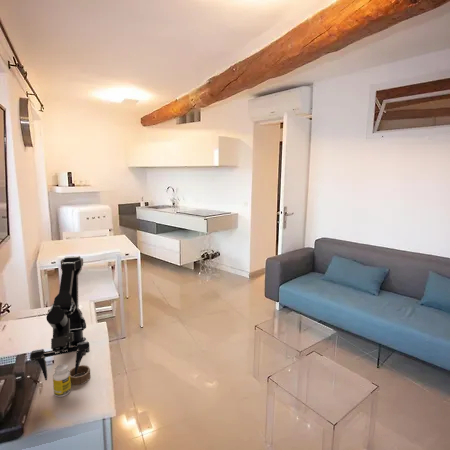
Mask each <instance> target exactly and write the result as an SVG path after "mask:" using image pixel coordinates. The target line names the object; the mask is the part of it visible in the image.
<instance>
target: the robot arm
mask: <svg viewBox="0 0 450 450" xmlns="http://www.w3.org/2000/svg"><path fill="white" fill-rule="evenodd" d="M59 262H60V270H61V276H60V277H61V278H60V282H59V283H60V284H59V290H58V294H57V295H56V296H55V297H54V300H53V303H52V304H51V307H50V309H49V310H48V313H47V315H46V321H47V323H48V324H49V325H50V326H51V328H52V338H51V339H50V344H51V345H50V349H51V350H47V351H45V349H44V348H41V349H36V350H32V351H31V352H30V354H29V360H30V361H31V363H33V364H34V363H35V364H36V365H39V366H40V368H41V370H42V373H43V377H44V380H45V381H48V368H47V360H46V358H49V357H54V356H59V355H65V354H70V353H75V354H76V356H75V365H74V367H75V374H77V371H78V367H79V366H80V364H81V362H82V359H83V358H84V356H86V355H87V353H89V352H90V351H91V349H90V342H89V341H88V340H87V337H84V334H83V333H84V330H85V329H87V322H86V320H85V317H83V312H82V311H81V309H80V308H79V274H80V273H81V271H82V270H83V266H84V258H81V256H80V255H75V256H74V255H71V256H65V257H64V258H63V259H61V260H60V261H59ZM85 340H87V341H85ZM77 375H78V374H77Z"/></svg>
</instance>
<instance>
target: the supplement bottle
mask: <svg viewBox="0 0 450 450" xmlns="http://www.w3.org/2000/svg"><path fill="white" fill-rule="evenodd" d="M52 382H53V383H52V384H53V396H55V397H59V398H62V397H65V396H68V395H69V394H70V392H71V391H72V384H71V380H70V370H69V368H68V365H67V364H66V363H60V364H58V365H56V366H55V367H54V374H53V375H52Z"/></svg>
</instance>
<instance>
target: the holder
mask: <svg viewBox="0 0 450 450" xmlns="http://www.w3.org/2000/svg"><path fill="white" fill-rule="evenodd" d="M69 371H70V380H71V386H78V385H82V384H85V383H87V382H88V381H89V380H90V378H91V368H90V366H88V365H84V364H83V365H79V367H78V371H77V374H75V366H74V367H73V368H71V369H70V370H69ZM79 374H82V375H80V376H78V375H79ZM76 375H77V376H76Z"/></svg>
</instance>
